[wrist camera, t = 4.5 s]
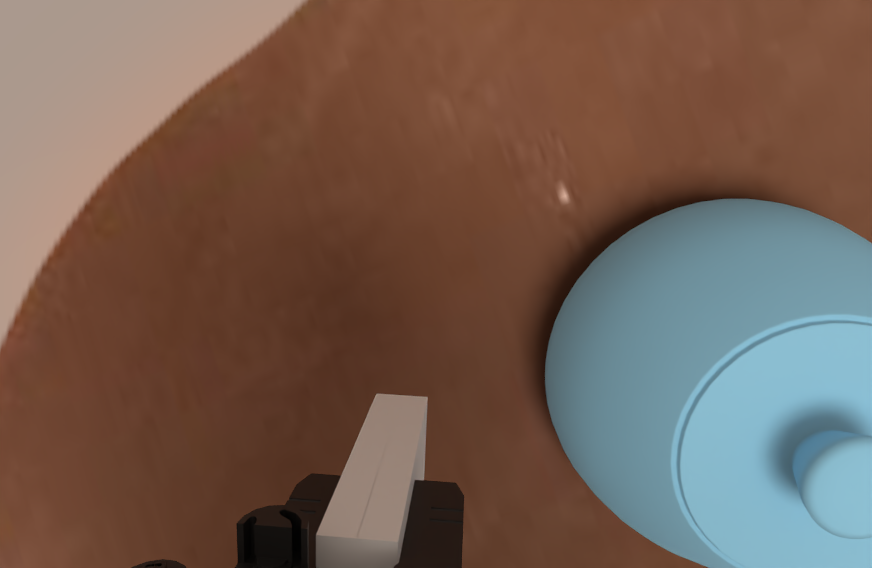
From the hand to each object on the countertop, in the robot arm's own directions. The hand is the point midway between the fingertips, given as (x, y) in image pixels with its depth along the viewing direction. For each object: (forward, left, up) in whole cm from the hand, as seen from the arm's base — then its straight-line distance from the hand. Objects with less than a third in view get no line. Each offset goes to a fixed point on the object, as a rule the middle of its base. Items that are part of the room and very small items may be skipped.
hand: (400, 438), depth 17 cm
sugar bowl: (+13, 0, -11) cm, 17 cm away
